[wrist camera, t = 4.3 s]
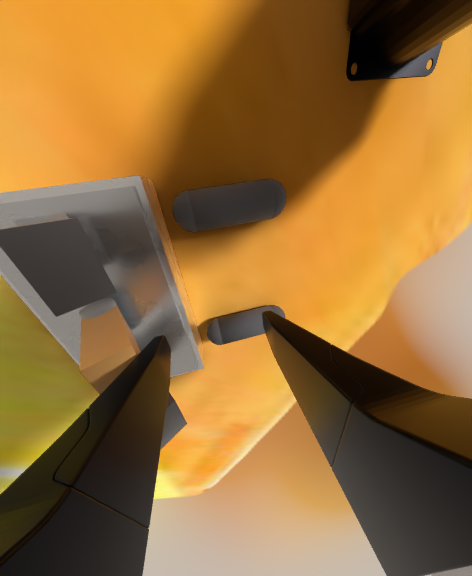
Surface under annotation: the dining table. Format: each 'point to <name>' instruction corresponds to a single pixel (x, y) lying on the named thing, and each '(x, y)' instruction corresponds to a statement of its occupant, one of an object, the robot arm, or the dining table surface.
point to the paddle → (172, 421)
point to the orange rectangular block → (105, 343)
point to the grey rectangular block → (57, 261)
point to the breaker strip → (115, 263)
